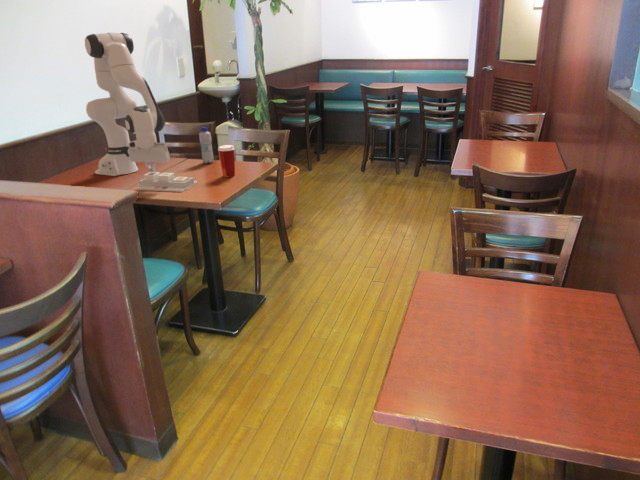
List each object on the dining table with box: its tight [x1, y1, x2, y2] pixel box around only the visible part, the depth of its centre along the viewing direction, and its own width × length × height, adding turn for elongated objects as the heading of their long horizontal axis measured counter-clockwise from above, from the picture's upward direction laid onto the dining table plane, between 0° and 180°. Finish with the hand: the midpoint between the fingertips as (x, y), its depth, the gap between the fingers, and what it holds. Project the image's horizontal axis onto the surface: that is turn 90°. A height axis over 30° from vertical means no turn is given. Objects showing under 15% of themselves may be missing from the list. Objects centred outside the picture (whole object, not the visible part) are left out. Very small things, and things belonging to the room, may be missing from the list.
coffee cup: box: [217, 144, 236, 178], centre depth 256 cm, size 8×8×15 cm
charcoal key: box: [143, 171, 162, 181], centre depth 246 cm, size 6×6×3 cm
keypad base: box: [136, 176, 198, 193], centre depth 245 cm, size 24×15×4 cm, turn 74°
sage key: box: [158, 172, 176, 182], centre depth 244 cm, size 6×6×3 cm
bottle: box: [198, 126, 214, 164], centre depth 283 cm, size 7×7×20 cm
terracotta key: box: [172, 176, 190, 182], centre depth 242 cm, size 6×6×3 cm
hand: (152, 171), depth 244 cm, fingers closed
